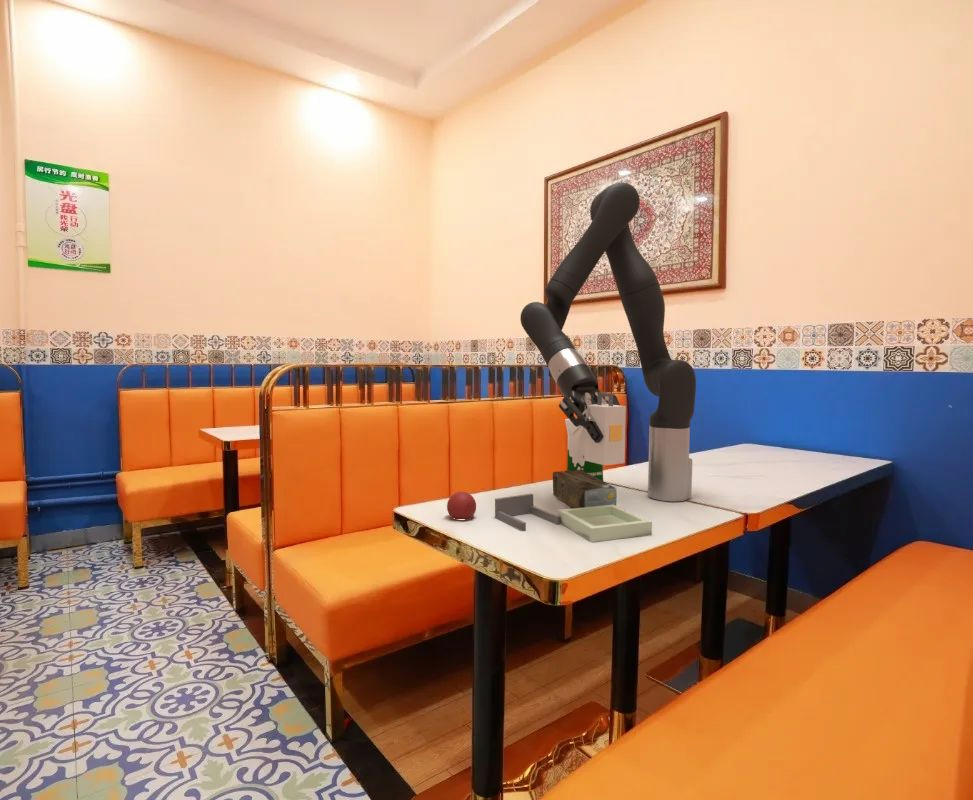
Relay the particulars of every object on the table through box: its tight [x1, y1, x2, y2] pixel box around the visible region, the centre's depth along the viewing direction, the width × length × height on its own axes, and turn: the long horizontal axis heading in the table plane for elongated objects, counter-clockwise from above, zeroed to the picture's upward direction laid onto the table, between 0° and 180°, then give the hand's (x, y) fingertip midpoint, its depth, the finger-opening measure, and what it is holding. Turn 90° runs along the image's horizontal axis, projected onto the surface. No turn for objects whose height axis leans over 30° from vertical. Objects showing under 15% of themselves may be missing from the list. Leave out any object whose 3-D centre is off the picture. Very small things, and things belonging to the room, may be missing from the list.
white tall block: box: [584, 392, 627, 466], centre depth 104 cm, size 5×6×13 cm
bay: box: [494, 493, 561, 532], centre depth 110 cm, size 9×10×4 cm
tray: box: [557, 505, 653, 543], centre depth 105 cm, size 13×13×2 cm
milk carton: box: [564, 418, 604, 482], centre depth 139 cm, size 9×9×20 cm
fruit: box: [446, 491, 477, 520], centre depth 111 cm, size 6×6×8 cm
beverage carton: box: [552, 470, 618, 509], centre depth 123 cm, size 8×19×7 cm, turn 14°
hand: (611, 439), depth 102 cm, fingers closed on white tall block, 5 cm apart
